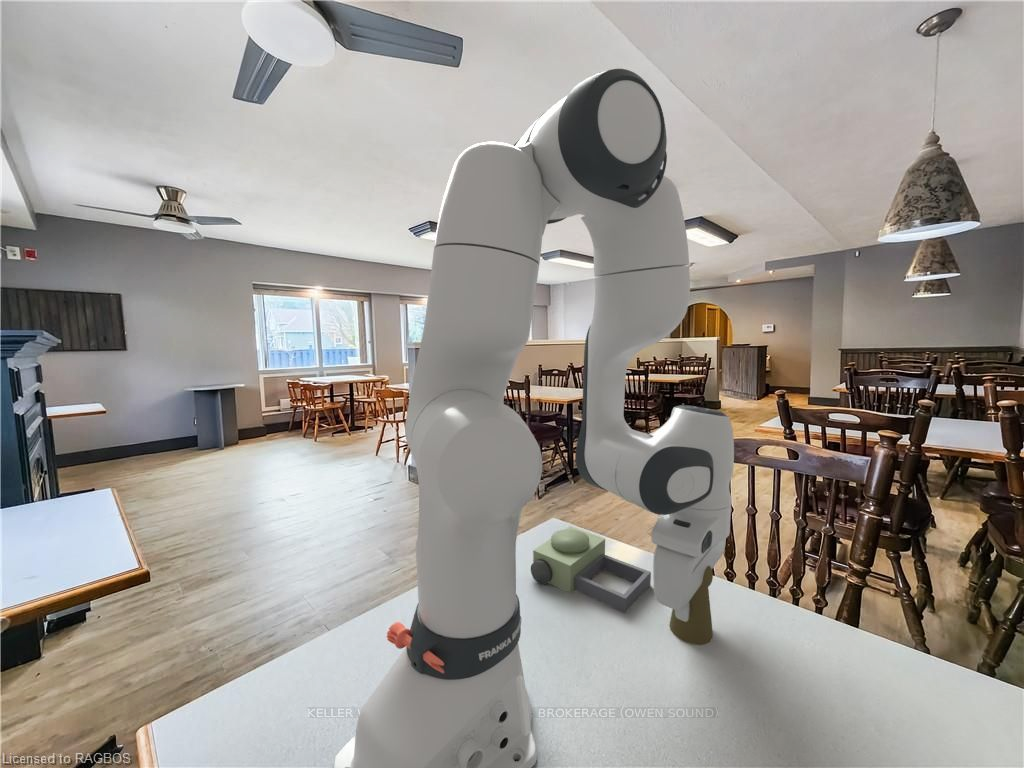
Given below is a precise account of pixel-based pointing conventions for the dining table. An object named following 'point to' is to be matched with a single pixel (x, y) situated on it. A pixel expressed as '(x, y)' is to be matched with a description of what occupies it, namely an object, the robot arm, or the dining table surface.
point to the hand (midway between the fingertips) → (691, 604)
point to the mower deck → (586, 568)
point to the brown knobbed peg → (696, 616)
